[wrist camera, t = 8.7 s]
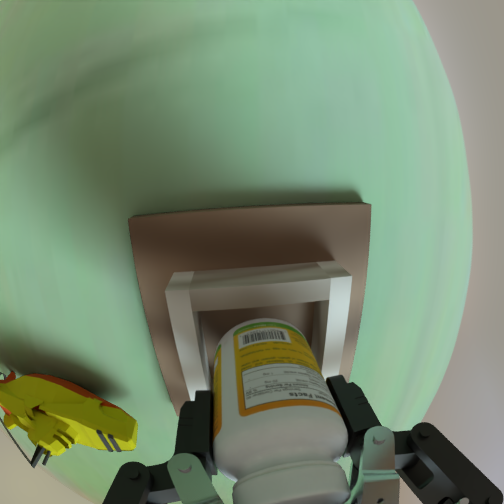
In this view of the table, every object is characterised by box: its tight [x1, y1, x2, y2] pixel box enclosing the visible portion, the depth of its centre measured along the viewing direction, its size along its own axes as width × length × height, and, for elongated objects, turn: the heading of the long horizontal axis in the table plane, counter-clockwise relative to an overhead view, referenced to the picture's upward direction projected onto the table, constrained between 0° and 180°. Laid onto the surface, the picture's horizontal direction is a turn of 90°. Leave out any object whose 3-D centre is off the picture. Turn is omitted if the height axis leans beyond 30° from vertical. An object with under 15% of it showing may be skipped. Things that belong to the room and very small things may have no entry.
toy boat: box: [0, 371, 138, 468], centre depth 14 cm, size 6×18×10 cm, turn 89°
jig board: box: [128, 202, 371, 416], centre depth 16 cm, size 16×14×4 cm
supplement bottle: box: [212, 318, 351, 504], centre depth 10 cm, size 5×5×10 cm
